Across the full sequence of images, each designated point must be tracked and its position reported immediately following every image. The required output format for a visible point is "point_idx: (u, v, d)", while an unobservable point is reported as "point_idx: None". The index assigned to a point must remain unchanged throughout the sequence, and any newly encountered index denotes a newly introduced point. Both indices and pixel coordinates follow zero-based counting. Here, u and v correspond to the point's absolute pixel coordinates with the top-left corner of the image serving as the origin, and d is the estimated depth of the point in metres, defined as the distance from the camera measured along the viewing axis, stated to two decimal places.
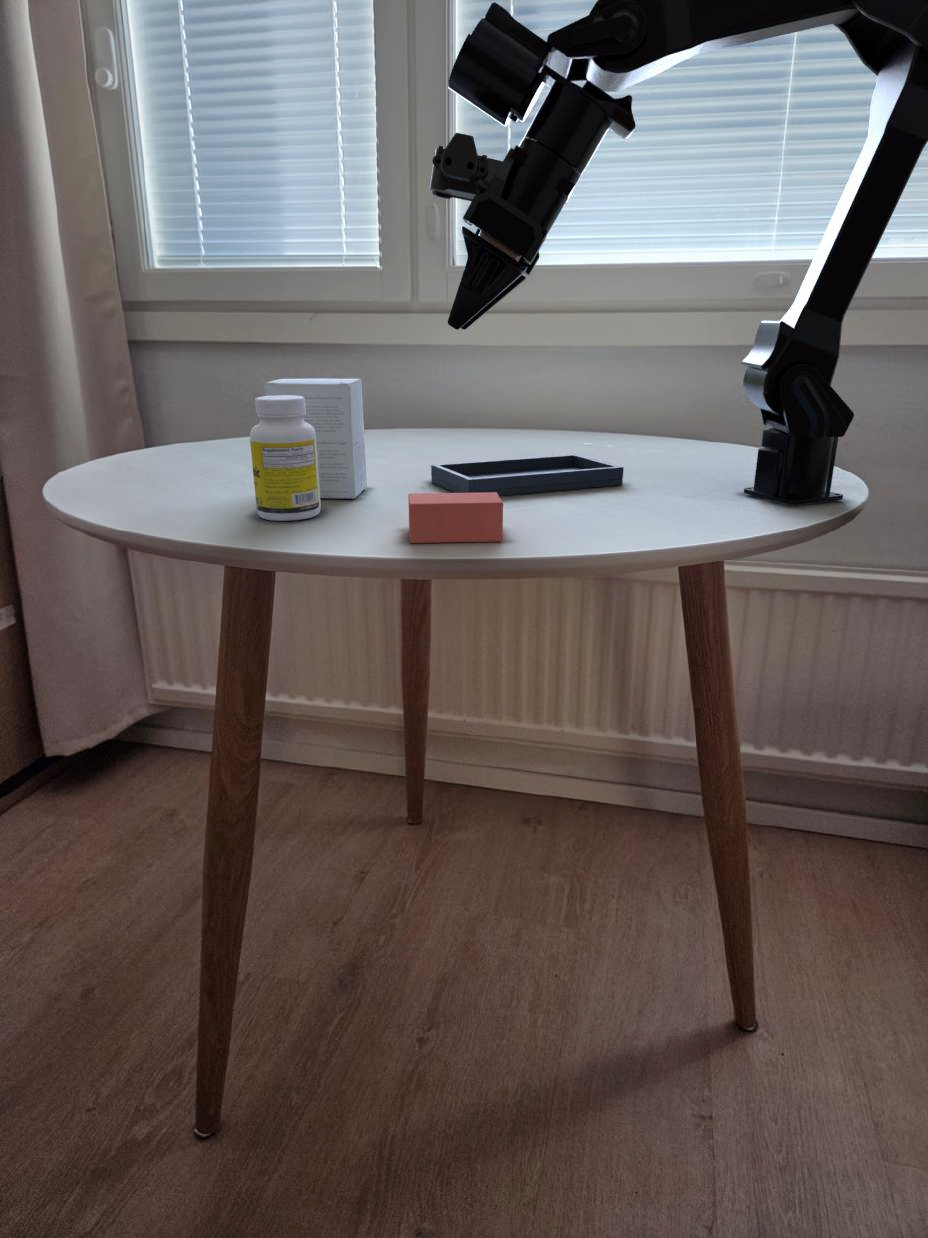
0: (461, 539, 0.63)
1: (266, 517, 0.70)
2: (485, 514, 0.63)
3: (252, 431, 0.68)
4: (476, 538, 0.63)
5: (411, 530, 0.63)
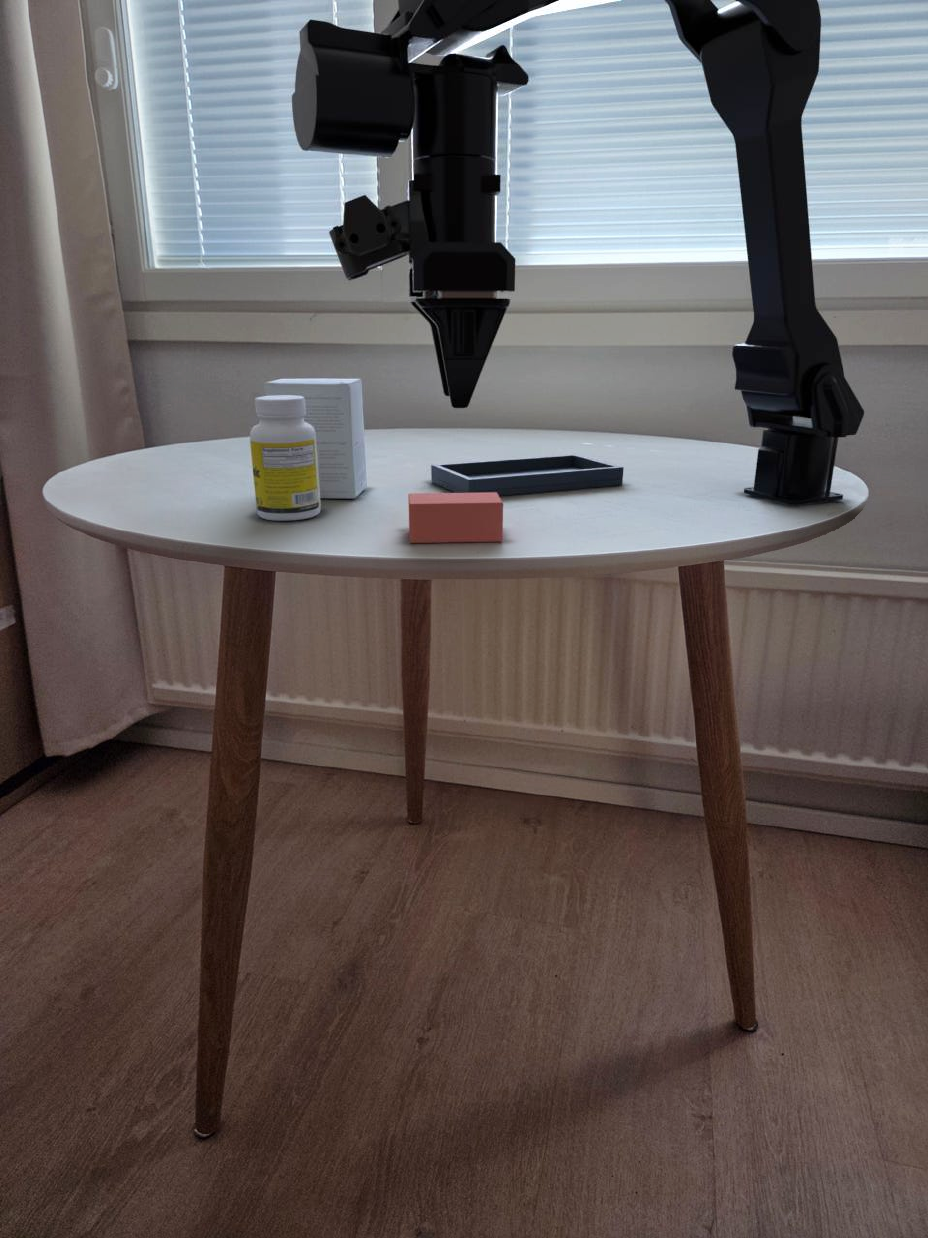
0: (461, 539, 0.63)
1: (266, 517, 0.70)
2: (485, 514, 0.63)
3: (252, 431, 0.68)
4: (476, 538, 0.63)
5: (411, 530, 0.63)
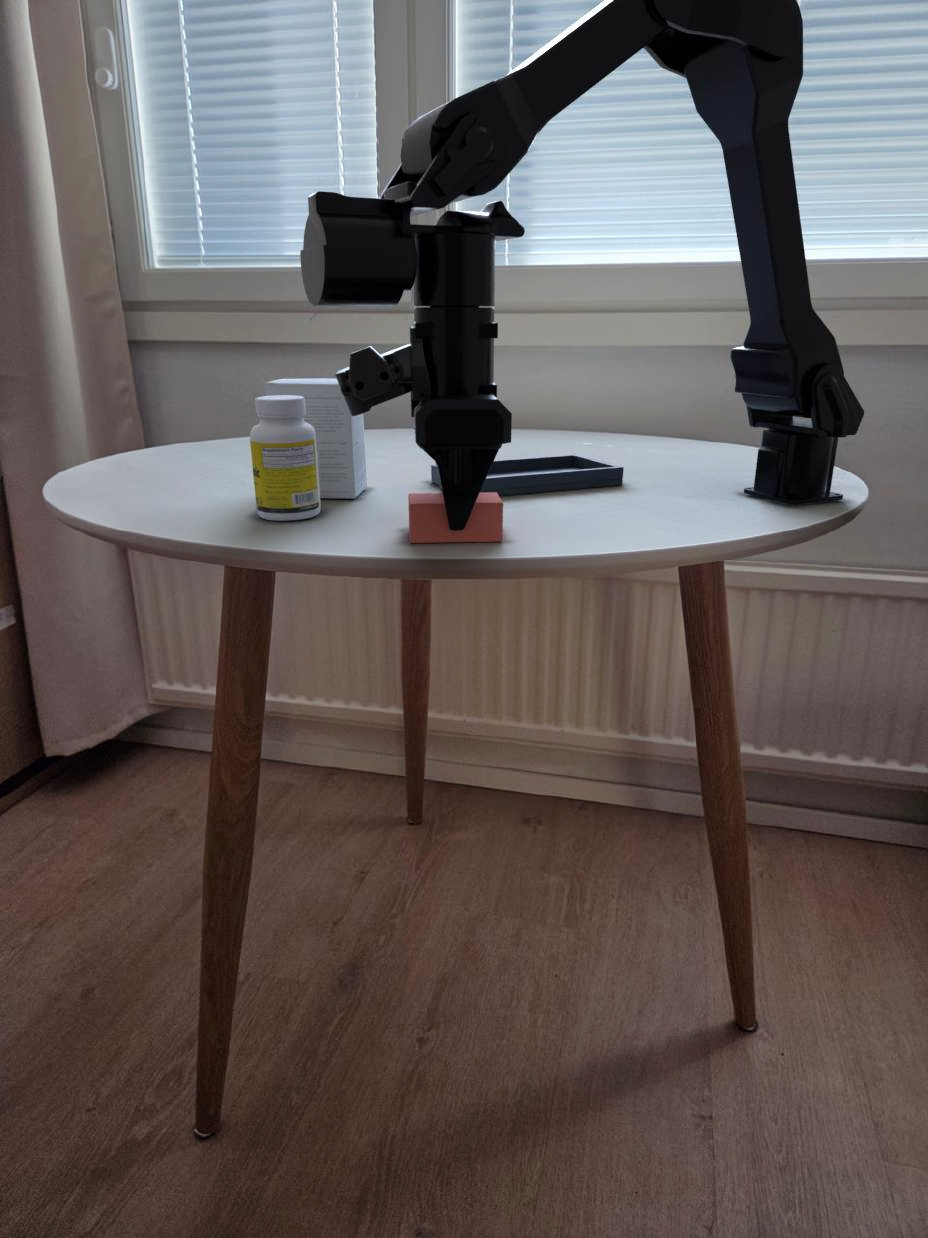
0: (461, 539, 0.63)
1: (266, 517, 0.70)
2: (485, 514, 0.63)
3: (252, 431, 0.68)
4: (476, 538, 0.63)
5: (411, 530, 0.63)
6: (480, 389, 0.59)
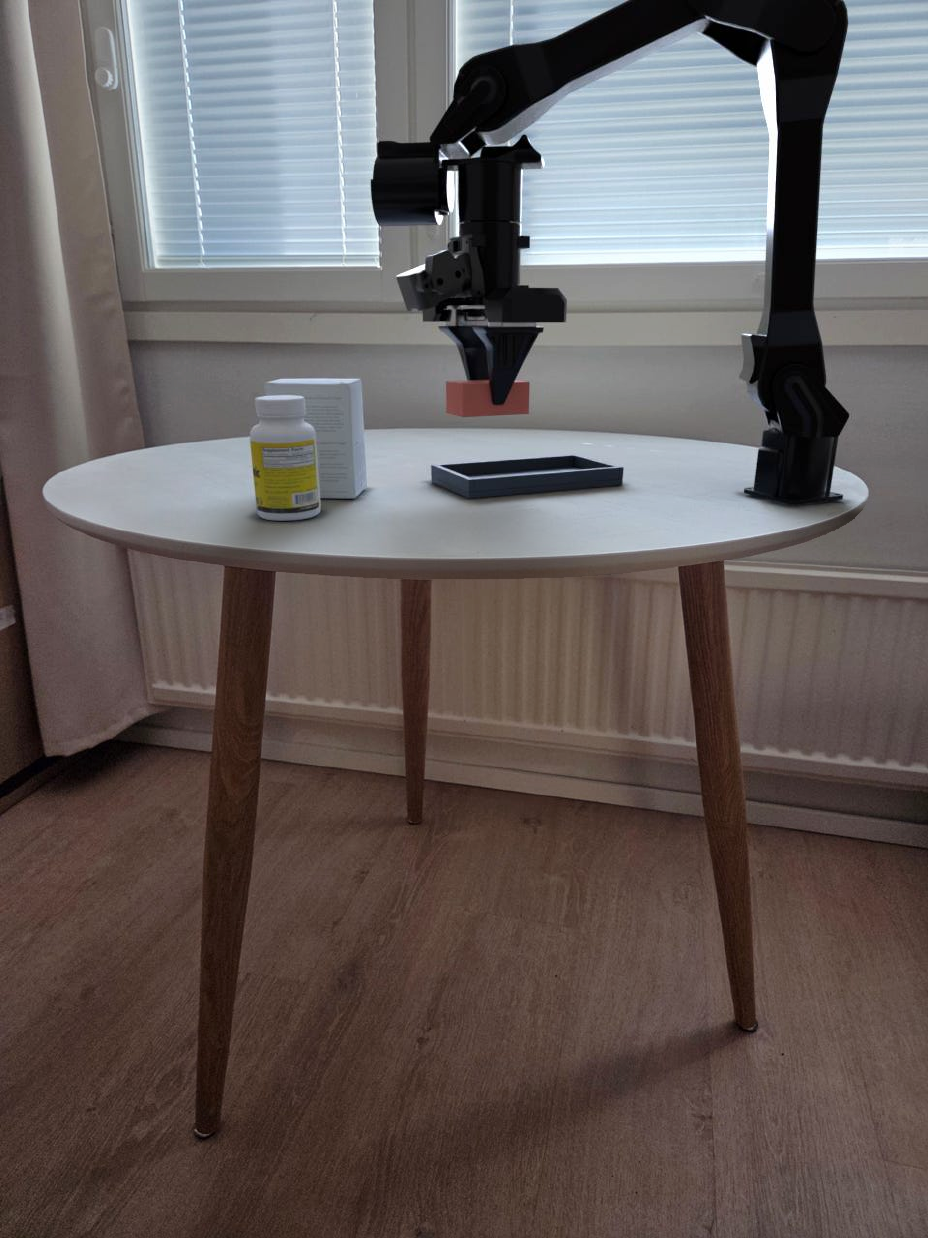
0: (500, 412, 0.80)
1: (266, 517, 0.70)
2: (517, 391, 0.80)
3: (252, 431, 0.68)
4: (511, 412, 0.80)
5: (464, 406, 0.78)
6: None
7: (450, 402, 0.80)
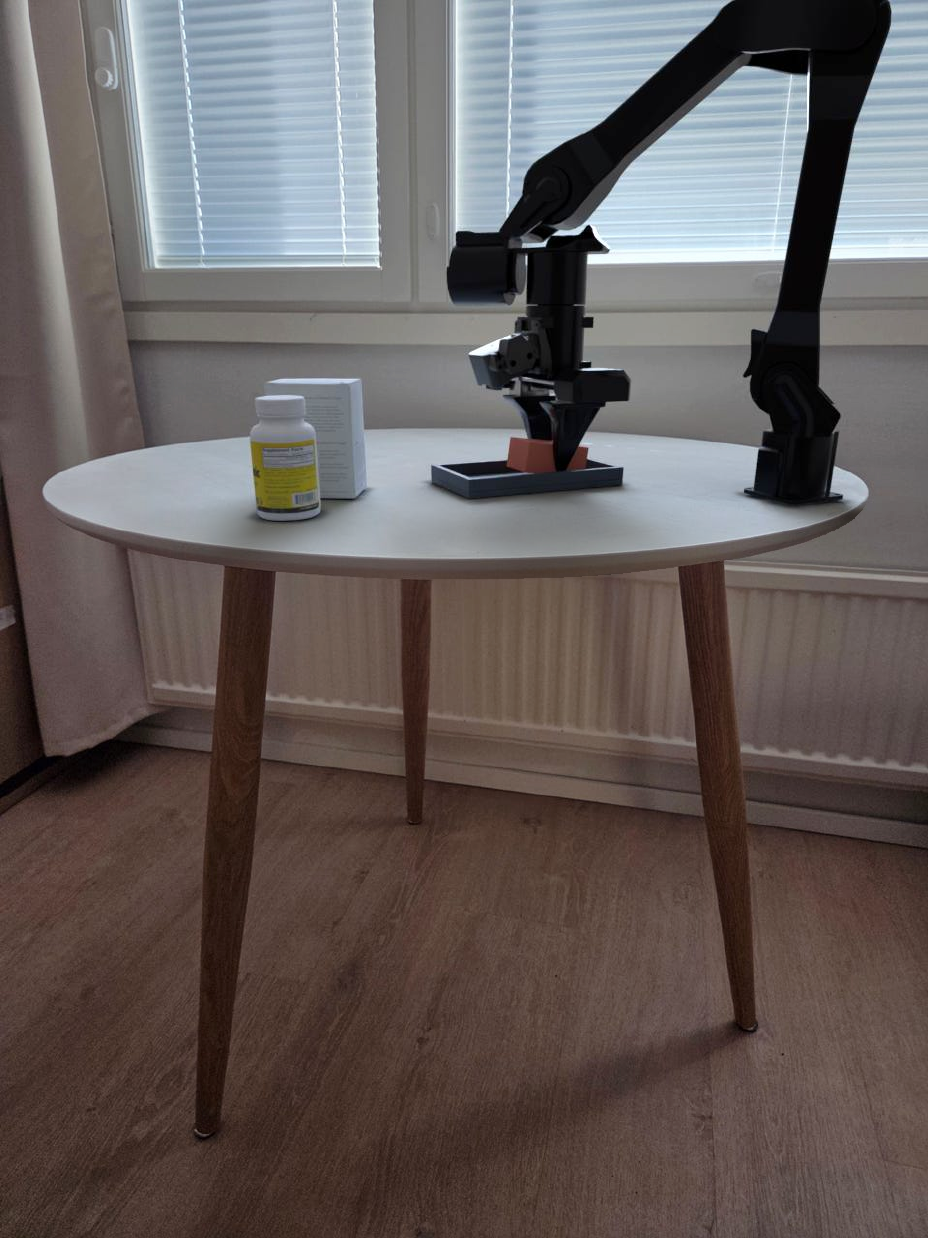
0: None
1: (266, 517, 0.70)
2: (576, 455, 0.85)
3: (252, 431, 0.68)
4: None
5: (527, 462, 0.83)
6: (581, 365, 0.82)
7: (512, 457, 0.85)
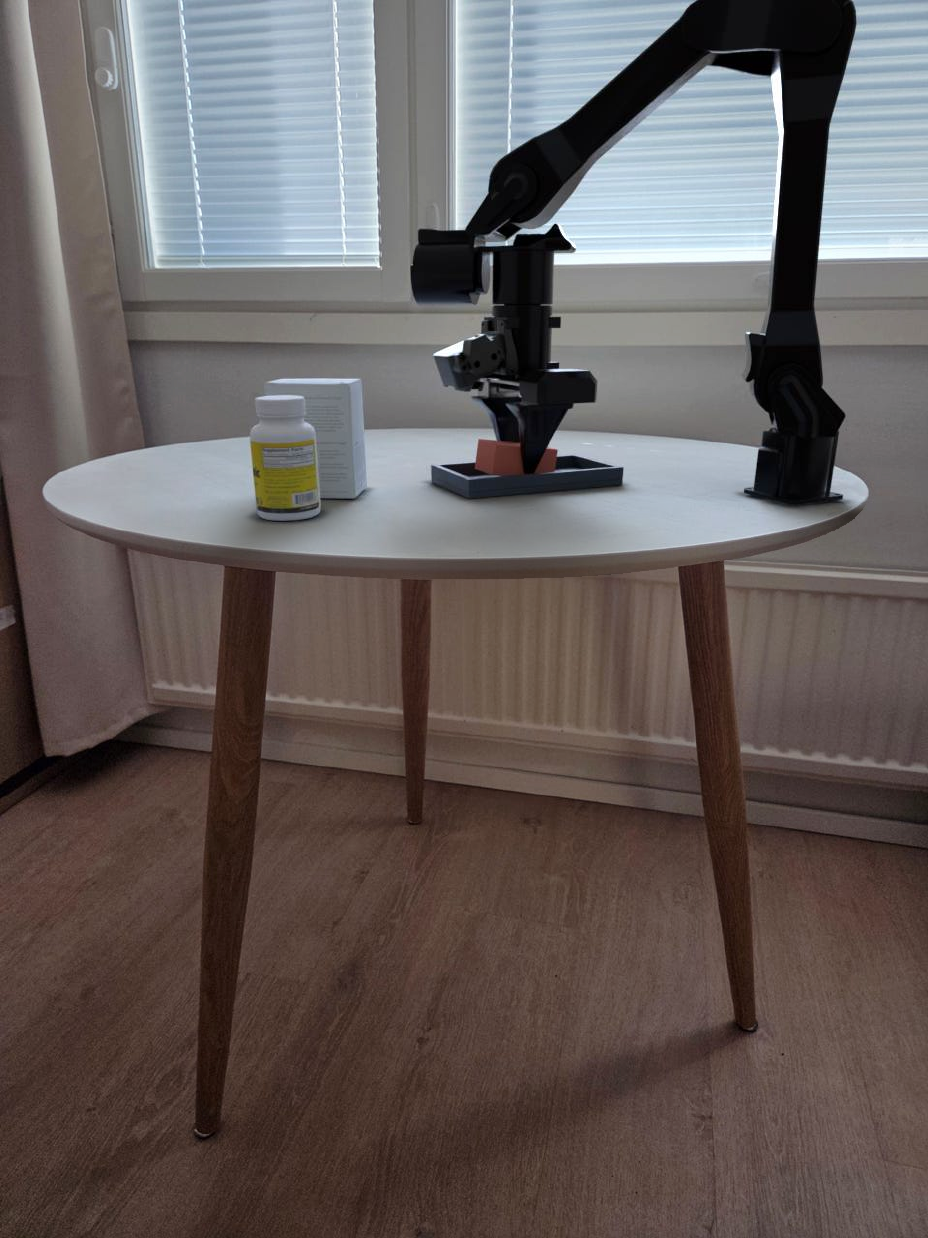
0: None
1: (266, 517, 0.70)
2: (545, 457, 0.83)
3: (252, 431, 0.68)
4: None
5: (494, 465, 0.81)
6: (548, 366, 0.80)
7: (480, 459, 0.84)
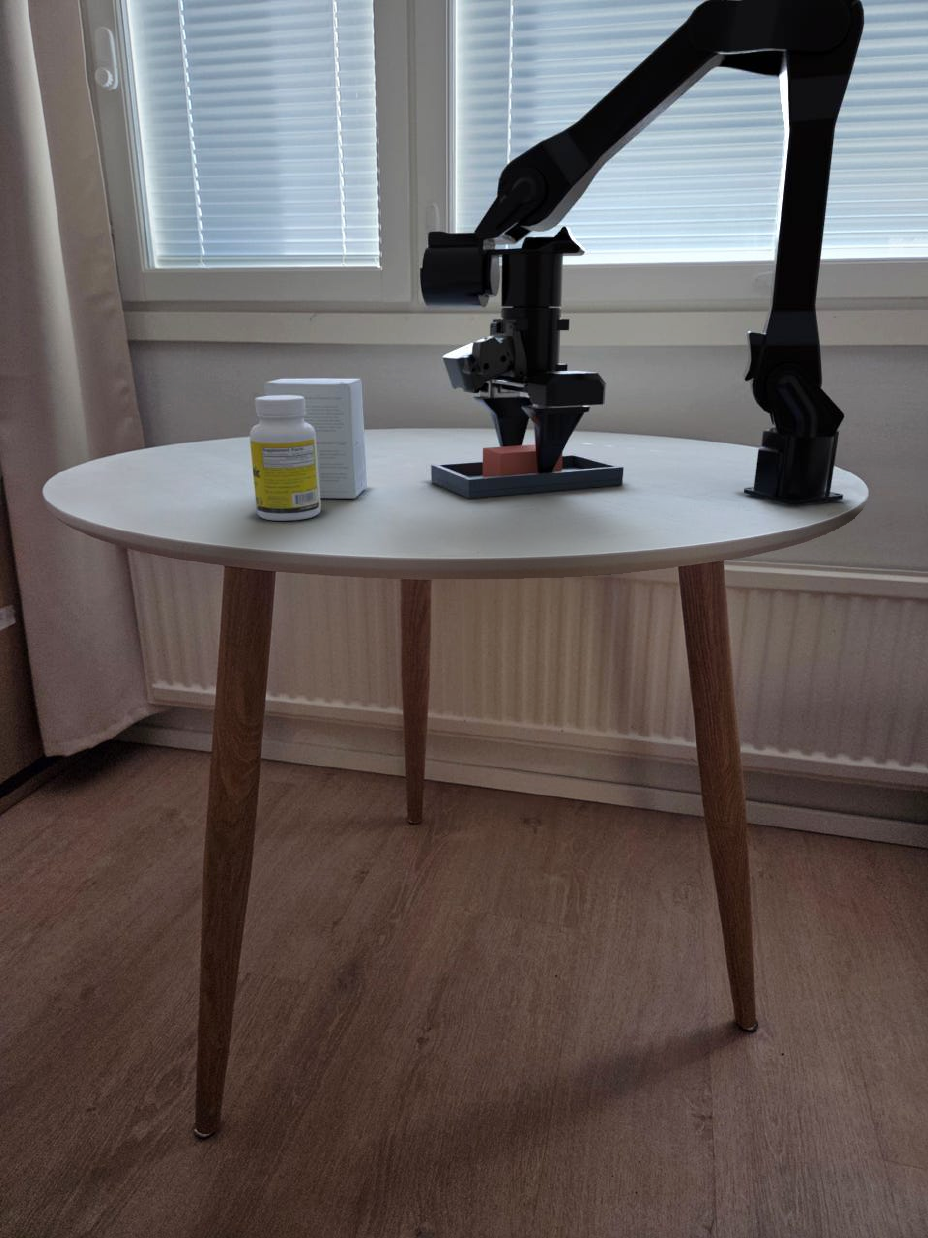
0: None
1: (266, 517, 0.70)
2: None
3: (252, 431, 0.68)
4: None
5: (501, 473, 0.82)
6: (557, 368, 0.81)
7: (487, 468, 0.84)
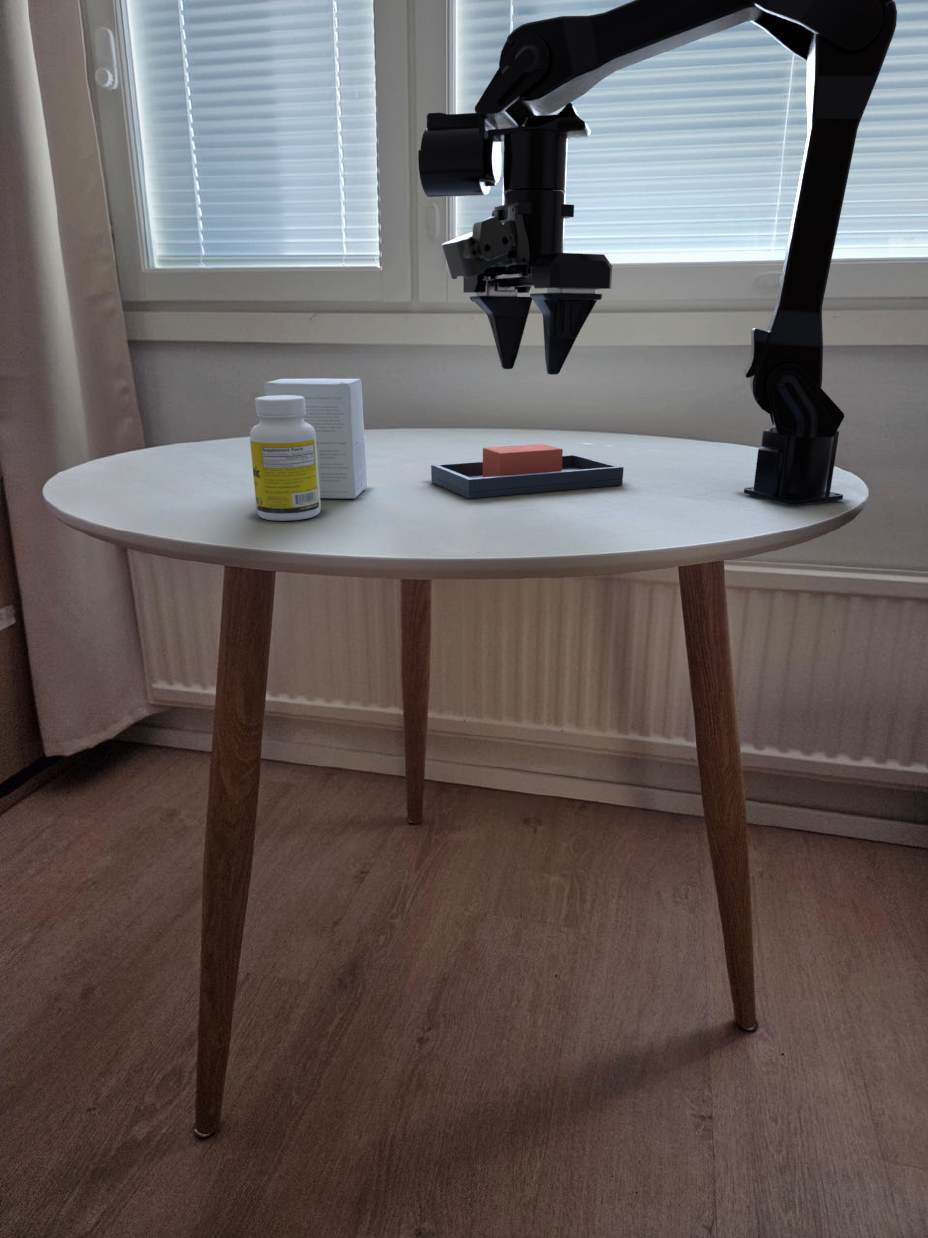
0: None
1: (266, 517, 0.70)
2: (551, 458, 0.84)
3: (252, 431, 0.68)
4: None
5: (501, 473, 0.82)
6: None
7: (487, 468, 0.84)
